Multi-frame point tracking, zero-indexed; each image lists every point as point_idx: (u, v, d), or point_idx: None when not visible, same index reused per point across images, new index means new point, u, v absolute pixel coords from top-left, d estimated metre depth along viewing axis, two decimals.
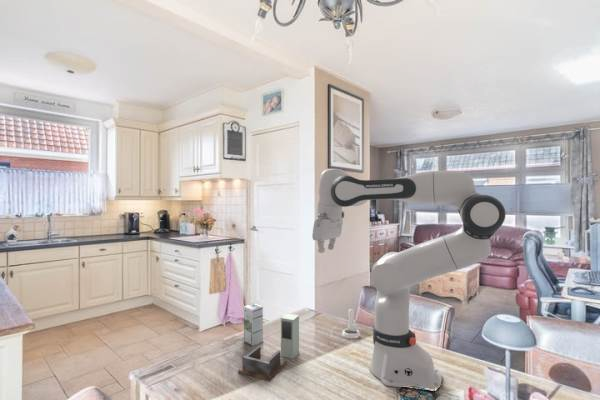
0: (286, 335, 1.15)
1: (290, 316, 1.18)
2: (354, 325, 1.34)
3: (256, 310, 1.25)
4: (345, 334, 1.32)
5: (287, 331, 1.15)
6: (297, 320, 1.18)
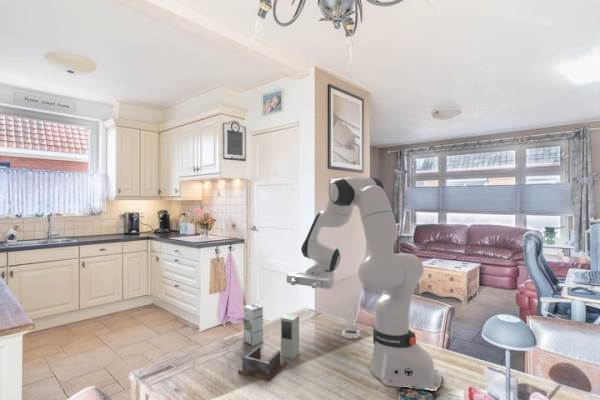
0: (286, 335, 1.15)
1: (290, 316, 1.18)
2: (354, 325, 1.34)
3: (256, 310, 1.25)
4: (345, 334, 1.32)
5: (287, 331, 1.15)
6: (297, 320, 1.18)
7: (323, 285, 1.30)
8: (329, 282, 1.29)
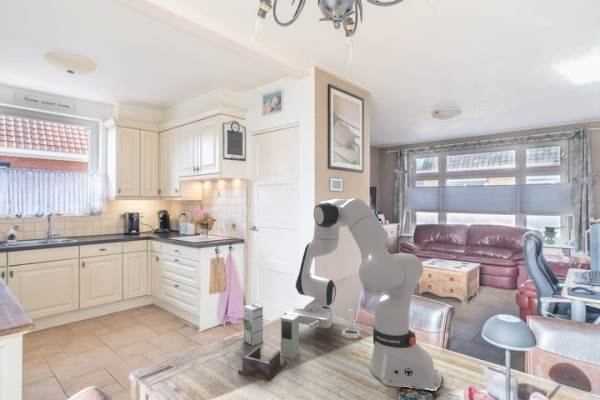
0: (286, 335, 1.15)
1: (290, 316, 1.18)
2: (354, 325, 1.34)
3: (256, 310, 1.25)
4: (345, 334, 1.32)
5: (287, 331, 1.15)
6: (297, 320, 1.18)
7: (321, 324, 1.27)
8: (327, 321, 1.26)
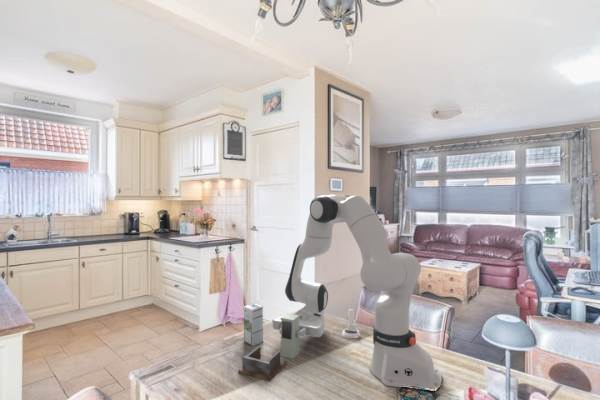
0: (286, 335, 1.15)
1: (290, 316, 1.18)
2: (354, 325, 1.34)
3: (256, 310, 1.25)
4: (345, 334, 1.32)
5: (287, 331, 1.15)
6: (297, 320, 1.17)
7: (312, 333, 1.18)
8: (318, 330, 1.17)
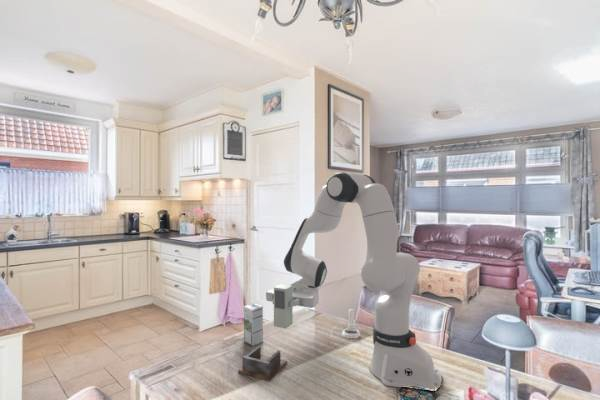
0: (279, 304, 1.12)
1: (283, 286, 1.16)
2: (354, 325, 1.34)
3: (256, 310, 1.25)
4: (345, 334, 1.32)
5: (280, 300, 1.12)
6: (290, 290, 1.15)
7: (305, 304, 1.15)
8: (312, 300, 1.15)
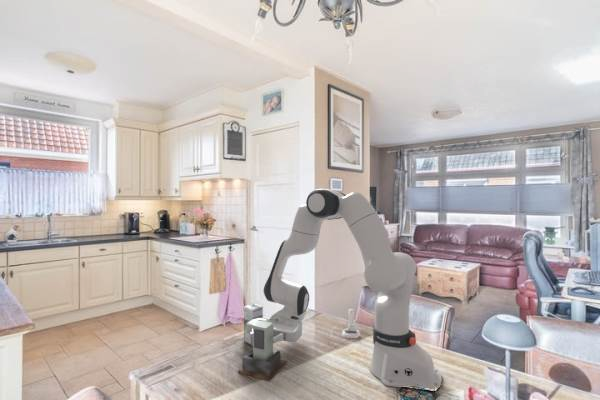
0: (258, 345, 1.05)
1: (263, 323, 1.08)
2: (354, 325, 1.34)
3: (256, 310, 1.25)
4: (345, 334, 1.32)
5: (259, 340, 1.05)
6: (271, 328, 1.08)
7: (287, 338, 1.08)
8: (294, 335, 1.08)
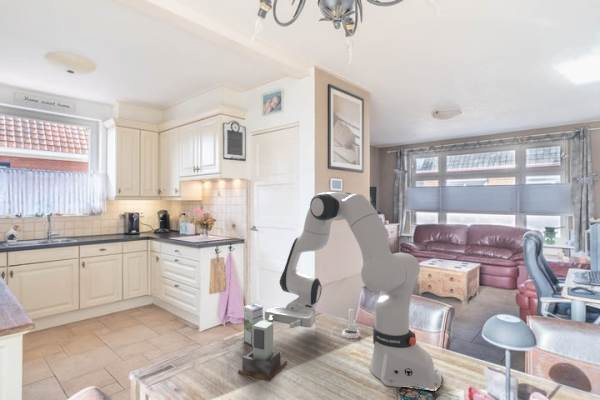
0: (258, 345, 1.05)
1: (263, 323, 1.08)
2: (354, 325, 1.34)
3: (256, 310, 1.25)
4: (345, 334, 1.32)
5: (259, 340, 1.05)
6: (271, 328, 1.08)
7: (302, 323, 1.20)
8: (309, 320, 1.19)
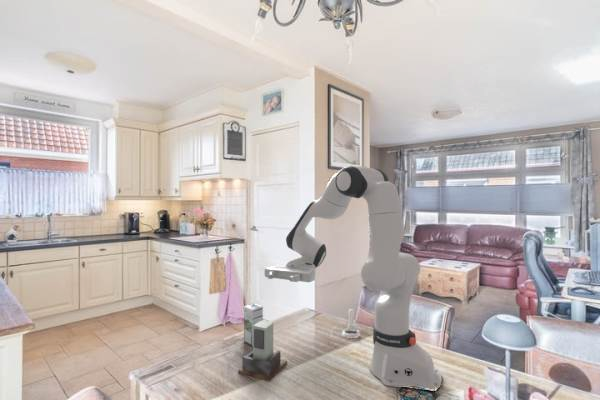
0: (258, 345, 1.05)
1: (263, 323, 1.08)
2: (354, 325, 1.34)
3: (256, 310, 1.25)
4: (345, 334, 1.32)
5: (259, 340, 1.05)
6: (271, 328, 1.08)
7: (302, 278, 1.20)
8: (309, 275, 1.19)
